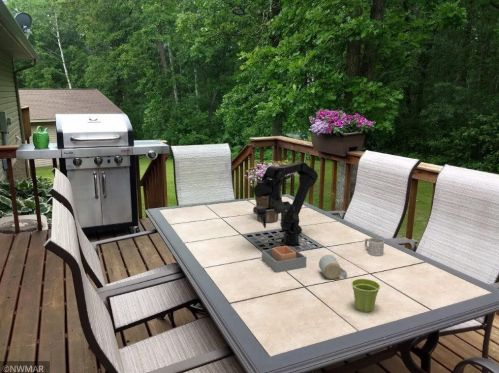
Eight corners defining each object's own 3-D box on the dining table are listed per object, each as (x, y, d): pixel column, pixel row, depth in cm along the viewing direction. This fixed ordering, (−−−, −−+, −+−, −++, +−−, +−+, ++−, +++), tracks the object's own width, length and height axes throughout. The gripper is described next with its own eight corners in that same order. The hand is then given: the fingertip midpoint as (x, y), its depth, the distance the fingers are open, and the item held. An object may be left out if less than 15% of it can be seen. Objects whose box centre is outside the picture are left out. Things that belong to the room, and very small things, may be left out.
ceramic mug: (323, 280, 156) (324, 262, 154) (318, 271, 164) (319, 254, 162) (349, 280, 157) (351, 261, 155) (343, 271, 165) (344, 254, 163)
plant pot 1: (286, 219, 237) (286, 192, 234) (273, 226, 224) (273, 198, 221) (262, 215, 246) (263, 189, 242) (249, 221, 233) (248, 194, 229)
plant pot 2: (346, 301, 140) (347, 278, 138) (372, 300, 140) (373, 277, 139) (355, 315, 130) (356, 291, 129) (383, 314, 131) (385, 290, 129)
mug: (386, 254, 182) (387, 241, 181) (376, 257, 179) (377, 243, 178) (369, 247, 191) (370, 234, 189) (359, 250, 187) (360, 237, 186)
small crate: (286, 258, 178) (286, 245, 176) (295, 265, 169) (296, 252, 168) (271, 260, 175) (272, 247, 174) (281, 268, 167) (281, 255, 166)
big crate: (290, 256, 181) (290, 246, 180) (306, 268, 168) (306, 257, 167) (262, 261, 176) (262, 250, 175) (276, 273, 163) (276, 262, 162)
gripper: (263, 200, 171) (262, 234, 174) (300, 195, 178) (299, 228, 181) (252, 194, 180) (252, 227, 184) (288, 190, 188) (288, 222, 191)
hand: (273, 226), depth 185 cm, fingers open, 9 cm apart
